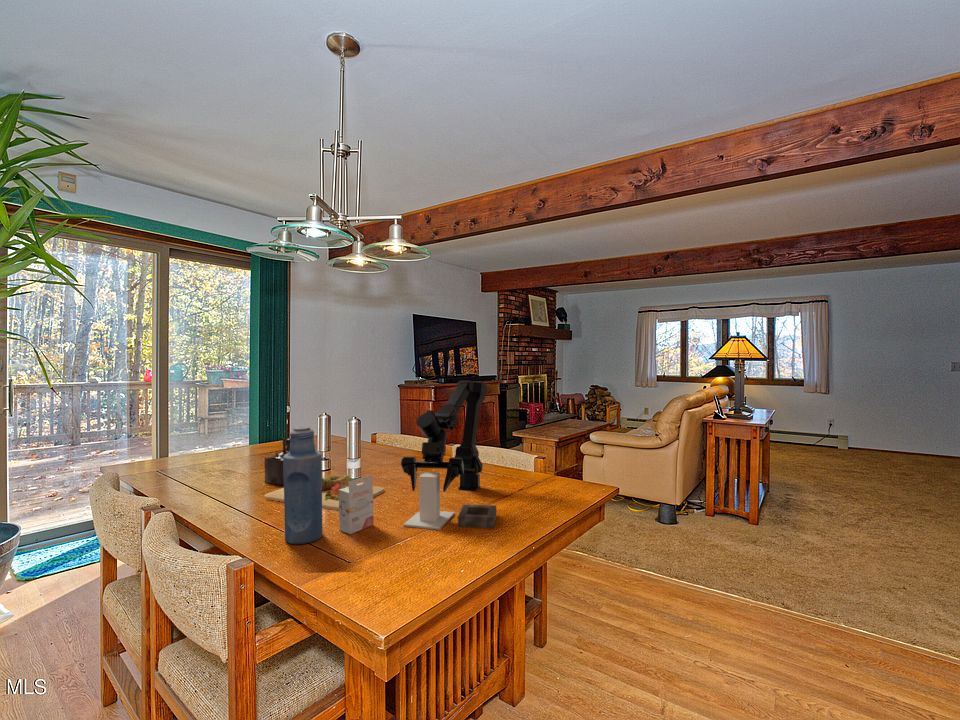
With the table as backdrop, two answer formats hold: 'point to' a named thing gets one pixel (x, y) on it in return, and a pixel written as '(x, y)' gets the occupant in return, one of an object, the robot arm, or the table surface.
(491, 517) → the block
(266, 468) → the black box
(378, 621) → the table surface
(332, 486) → the cutting board
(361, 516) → the ink cartridge box
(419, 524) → the rubber mat
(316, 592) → the table surface
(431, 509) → the off-white block
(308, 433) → the bottle
